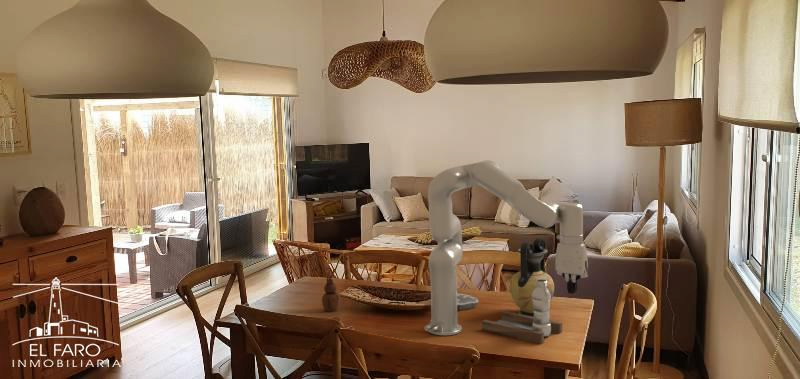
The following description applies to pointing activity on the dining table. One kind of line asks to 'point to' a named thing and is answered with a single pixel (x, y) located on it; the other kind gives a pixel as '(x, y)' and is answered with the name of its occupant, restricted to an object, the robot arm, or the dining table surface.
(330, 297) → the wooden figurine
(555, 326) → the u rest
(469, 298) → the brain slice
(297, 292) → the dining table surface
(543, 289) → the plastic bottle
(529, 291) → the amphora
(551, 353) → the dining table surface
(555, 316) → the dining table surface
